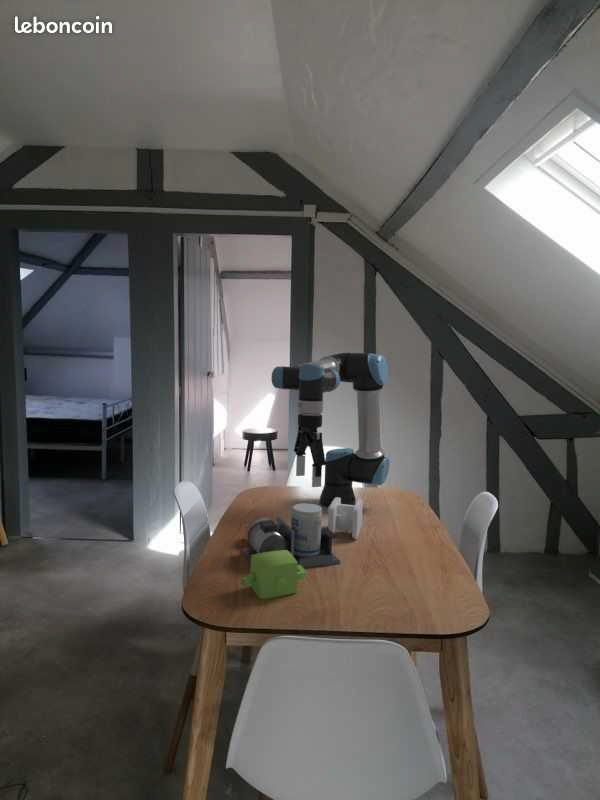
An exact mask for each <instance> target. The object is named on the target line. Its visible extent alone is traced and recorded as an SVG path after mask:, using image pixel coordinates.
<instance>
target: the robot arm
mask: <svg viewBox="0 0 600 800" xmlns="http://www.w3.org/2000/svg"><path fill="white" fill-rule="evenodd" d="M388 376H389V368H388V363H387V361H386V358H385V357H384V356H383V355H382V354H378V353H372V352H371V353H370V352H369V353H368V352H340V353H335V354H332V355H331V354H330V355H326V356H323V357H321V358H320V359H319V360H317V361H316V360H315V361H311V362H305V363H301V364H297V365H291V366H285V365H282V366H276V367H274V368H273V369H272V372H271V384H272V386H273V387H274V388H275V389H279V390H293V391H295V390H296V391H298V403H297V409H298V413H299V414H298V415H297V426H298V427H297V435H296V439H295V443H294V449H293V451H294V453H295V455H296V461H295V462H296V466H295V467H296V469H295V471H296V472H295V476H296V477H304V476H306V475H305V474H306V455H307V454H306V451H307V448H309V450H310V454H311V458H312V462H313V463H312V465H311V467H312V470H311V471H312V476H311V477H312V478H311V487H312V488H319V487H320V488H321V487H322V476H323V475H322V472H323V471H322V470H323V466H324V484H323V488H322V490H321V494H320V496H319V504H320V505H322V506H323V507H325V508H328V507H330V505H331V503H332V501H333V499H335V497H339V498H341V504H346V505H355V504H356V502H357V501H356V500H357V499H356V494H355V491H354V489H353V483H359V484H364V485H365V484H367V485H371V486H382V485H383V484H385V482H386V480H387V477H388V474H389V470H390V466H391V465H390V464H391V461H390V458H389V457H387V456H385V451H384V449H382V448H381V420H380V419H381V415H380V413H381V411H380V409H381V408H380V392H381V390H383V389H384V385H386V384H387V381H388V380H389V378H388ZM340 383H351V384H352V389H353V390H354V391H355V392H356V395H357V396H356V397H357V399H356V400H357V402H356V403H357V424H358V425H357V428H358V432H357V433H358V449H357V450H356V451H355V450H354V448H347V447H345V448H334V449H330V450H328V451H327V452H326V453H325V451H324V443H323V433H322V432H320V431H319V432H318V428H322V426H323V415H322V413H323V412H324V409H323V408H324V400H323V399H324V393H330V392H333V391H335V390H336V389H337V388H338V387H339V385H340Z"/></svg>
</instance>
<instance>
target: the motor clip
mask: <svg viewBox="0 0 600 800" xmlns="http://www.w3.org/2000/svg"><path fill="white" fill-rule="evenodd" d="M252 525H253V524H252ZM252 525H251V526H252ZM251 526H250V527H251ZM250 527H249V528H250ZM248 530H249V529H248ZM247 533H248V538H247V542H248V544H249V545H250V546H251V547H250V546H249V547H243V548H242V552H243V554H244V555H245V557H246V558H247V560H249V562H250V563H251V555H253V554H258V553H264V552H270V551H278V550H288V551H289V552H290V553H291V554H292V556H293V557H294V558H295V559H296V561H297V562H298V565H301V566H302V567H303V568H304V569H309V568H317V567H325V566H334V565H341V560H340V559H339V558H338V557H337V556H336V555H335V554H334V553H332V552H333V551H332V547H333V545H332V544H333V539H336V538H337V534H336V533H335V534H334V533H333V532H332V531H331V530H329V529H328V527H325V528H321V541H320V552H319V554H318V555H316V556H311V557H299V556H296V555H294V540H295V531H294V530H293V529H292V528H291V525H289V524H288V523H287V522H286V521H284V519H282V517H280V516H277V517H276V522H275V521H274V520H273V519H269V520H266V521H260V522H258V523H256V524H254V525H253V526H252V527H251V528H250V530H249V532H248V531H247Z"/></svg>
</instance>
